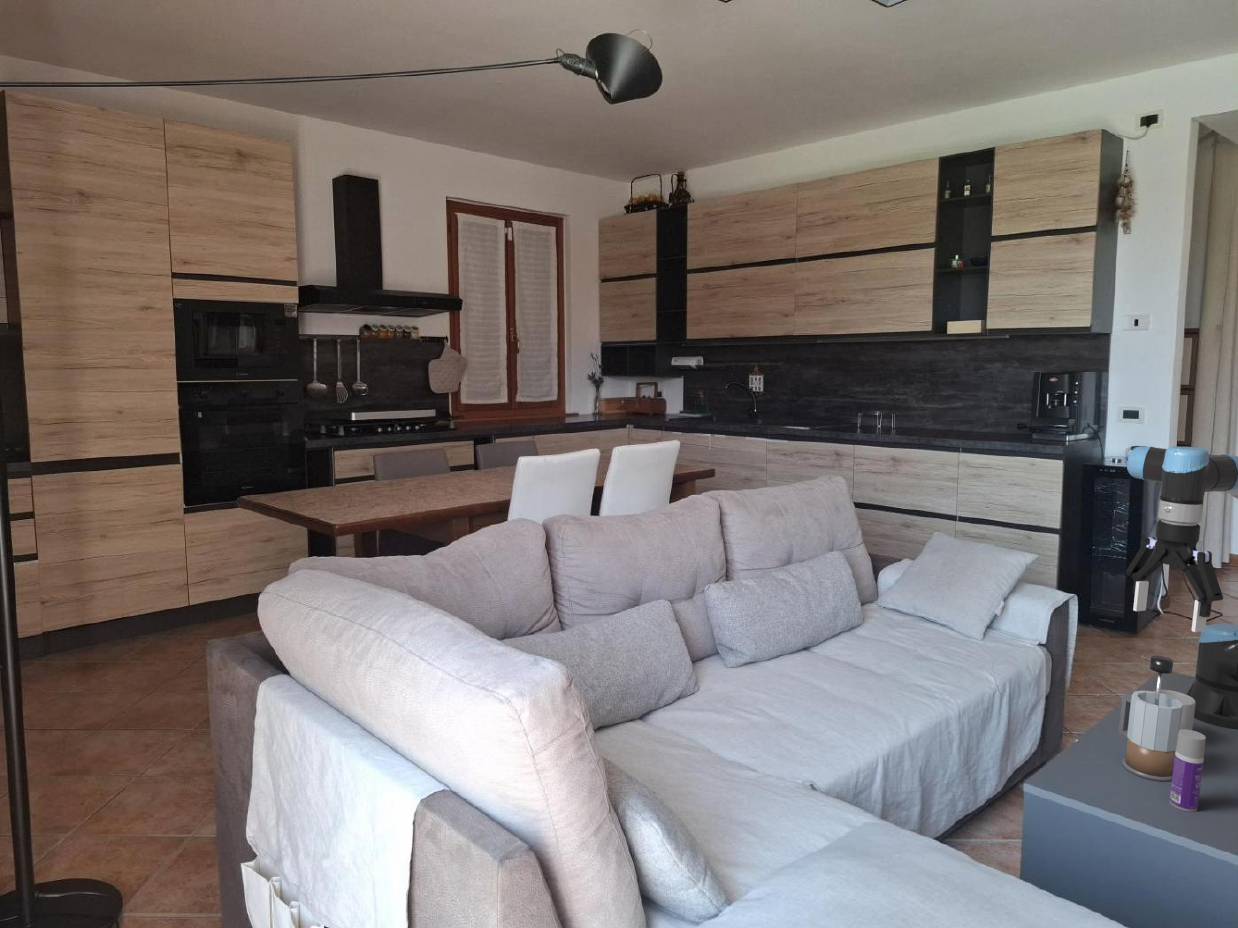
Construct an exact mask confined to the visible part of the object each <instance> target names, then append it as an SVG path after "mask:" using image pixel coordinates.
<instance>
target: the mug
mask: <svg viewBox="0 0 1238 928" xmlns="http://www.w3.org/2000/svg"><path fill="white" fill-rule="evenodd" d="M1152 692H1156V689H1155V690H1154V691H1152ZM1160 693H1162V694H1166V695H1169V696H1171V697H1174V698H1176V699H1178V700H1179V701H1180V702H1181V703H1182V704H1183V710H1182V718H1181V727H1180V730H1183V729H1186V730H1192V731H1193V727H1194V718H1195V717H1194V712H1195V704H1196V702H1195V700H1194V699H1193V698H1192V697H1190V696H1188V695H1187V693H1186V694H1185V693H1184V692H1183V693H1182V692H1179V691H1175V690H1170V689H1161V691H1160Z"/></svg>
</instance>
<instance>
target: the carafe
mask: <svg viewBox="0 0 1238 928" xmlns="http://www.w3.org/2000/svg"><path fill="white" fill-rule="evenodd" d="M1155 695H1156V692H1153V691H1151V690H1136V691H1133V692H1132V694H1130V693H1124V694H1122V698H1121V705H1120V706H1121V707H1120V714H1119V715H1120V716H1119V725H1118V734H1119V735H1122V736H1124V737H1125V738H1127V741H1126V748H1125V750H1126V751H1125V756H1123V757H1122V759H1121V760H1122V761H1121V765H1122V767H1123V768H1124V769H1125V770H1126V771H1128V772H1129V773H1131V774H1133V775H1134V776H1137V777H1139V778H1142V779H1146V780H1149V781H1154V782H1162V783H1165V782H1166V783H1167V782H1172V776H1173V767H1174V759H1175V752H1176V746H1177V739H1178V733H1179V730H1180V727H1181V718H1182V710H1183V704H1182V703H1181V702H1180V701H1179V700H1178V699H1176V698H1174V697H1171V696H1169V695H1166V694H1162V693H1160V699H1159V706H1158V705H1154V703H1155Z"/></svg>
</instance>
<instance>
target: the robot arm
mask: <svg viewBox="0 0 1238 928" xmlns="http://www.w3.org/2000/svg"><path fill="white" fill-rule="evenodd" d="M1126 468H1127V472H1128V474H1129V475H1130V476H1131V477H1133V478H1135V479H1139V480H1143V481H1149V482H1156V483H1161V486H1160V487H1161V489H1160V494H1159V495H1160V496H1159V503H1158V513H1157V518H1158V521H1157V522H1156V528H1155V529H1156V530H1155V536H1154V537H1153V536H1152V537H1143V539H1142V541H1141V546H1140V548H1139V550H1138V551H1137V552H1136V554H1135V556H1134V558H1133V559H1132V561H1131V562H1130V564H1129V565H1128V567H1127V569H1126V570H1125V574H1126V576H1130V577H1131V578H1132V580H1133V585H1132V594H1133V595H1134V598H1133V601H1134V602H1133V608H1132V610H1133V611H1135V612H1143V611H1145V612H1146V610H1147V604H1148V592H1149V586H1150V583H1149V580H1148V578H1149V576H1151V575H1152V574H1153V573H1154V572H1156V571H1157V570H1158V569H1159V568H1160V567H1161V566H1162V565H1168V566H1169V565H1170V566H1172V567H1174V568H1180V570H1181V572H1183V573H1184V575H1185V576H1186V578H1187V580H1188V581H1189V583H1190V586H1191V587H1192V589H1193V591H1194V592H1195V594H1196V596H1197V597H1198V599H1195V600H1194V607H1193V614H1192V622H1191V623H1192V625H1191V632H1193V633H1199V632H1200V636H1199V640H1198V649H1197V659H1196V668H1195V676H1194V681H1193V682H1192V684H1191V686H1190V688H1189V690H1188V692H1187V693H1186V695H1188V696H1190V697H1192V698H1193V699H1194V700H1195V702H1196V704H1195V712H1194V718H1195V719H1197V720H1200V721H1202V722H1205V723H1207V724H1210V725H1215V726H1219V727H1223V728H1228V729H1229V728H1230V729H1238V624H1232V623H1213V624H1207V618H1208V617H1211V614H1212V613H1211V612H1212V603H1213V602H1217V601H1223V600H1224V595H1223V593H1222V590H1221V586H1220V582H1219V581H1218V577H1217V574H1216V571H1215V568H1214V566H1213V565H1214V564H1213V563H1212V562H1213V553H1212V552H1211V551H1210V550H1207V551H1202V550H1201V551H1200V550H1197V544H1198V542H1200V535H1201V525H1200V524H1199V523H1201V522H1202V519H1203V518H1202V517H1203V510H1204V509H1203V508H1204V500H1205V499H1204V498H1205V493H1211V492H1213V493H1214V492H1217V493H1223V494H1227V495H1228V494H1229V495H1231V496H1232V497H1233V498H1235V499H1237V500H1238V456H1237V455H1234V454H1224V453H1223V454H1220V455H1219V454H1209V451H1208V450H1207V449H1205V448H1202V447H1195V446H1171V447H1168V448H1163V447H1161V448H1160V447H1154V446H1152V445H1151V446H1150V445H1149V446H1143V445H1141V446H1137V447H1135V448H1133V449H1132V450H1131V451H1130V452H1129V454H1128V456H1127V462H1126ZM1156 538H1157V539H1156ZM1155 549H1156V551H1157V552H1156V553H1155V554H1154V555H1153V556H1152V557H1151V555H1152V554H1153V552H1154V551H1155ZM1150 557H1151V558H1150ZM1148 559H1150V560H1149V561H1148Z"/></svg>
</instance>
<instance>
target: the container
mask: <svg viewBox="0 0 1238 928" xmlns="http://www.w3.org/2000/svg"><path fill="white" fill-rule="evenodd" d="M1206 740H1207V738H1206V735H1204V733H1201V732H1199V731H1196V730H1193V729H1192V730H1186V729H1183V730H1179V733H1178V739H1177V746H1176V752H1175V759H1174V767H1173V776H1172V781H1171V786H1170V791H1169V792H1170V794H1169V804H1170V805H1171V806H1173V807H1174V808H1176V809H1178V810H1181V811H1184V812H1189V813H1190V812H1191V813H1193V812H1196V811H1198V808H1199V799H1200V792H1201V785H1202V779H1203V770H1204V763H1205V760H1204V759H1205V753H1206V752H1205V751H1206V750H1205V749H1206Z"/></svg>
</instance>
